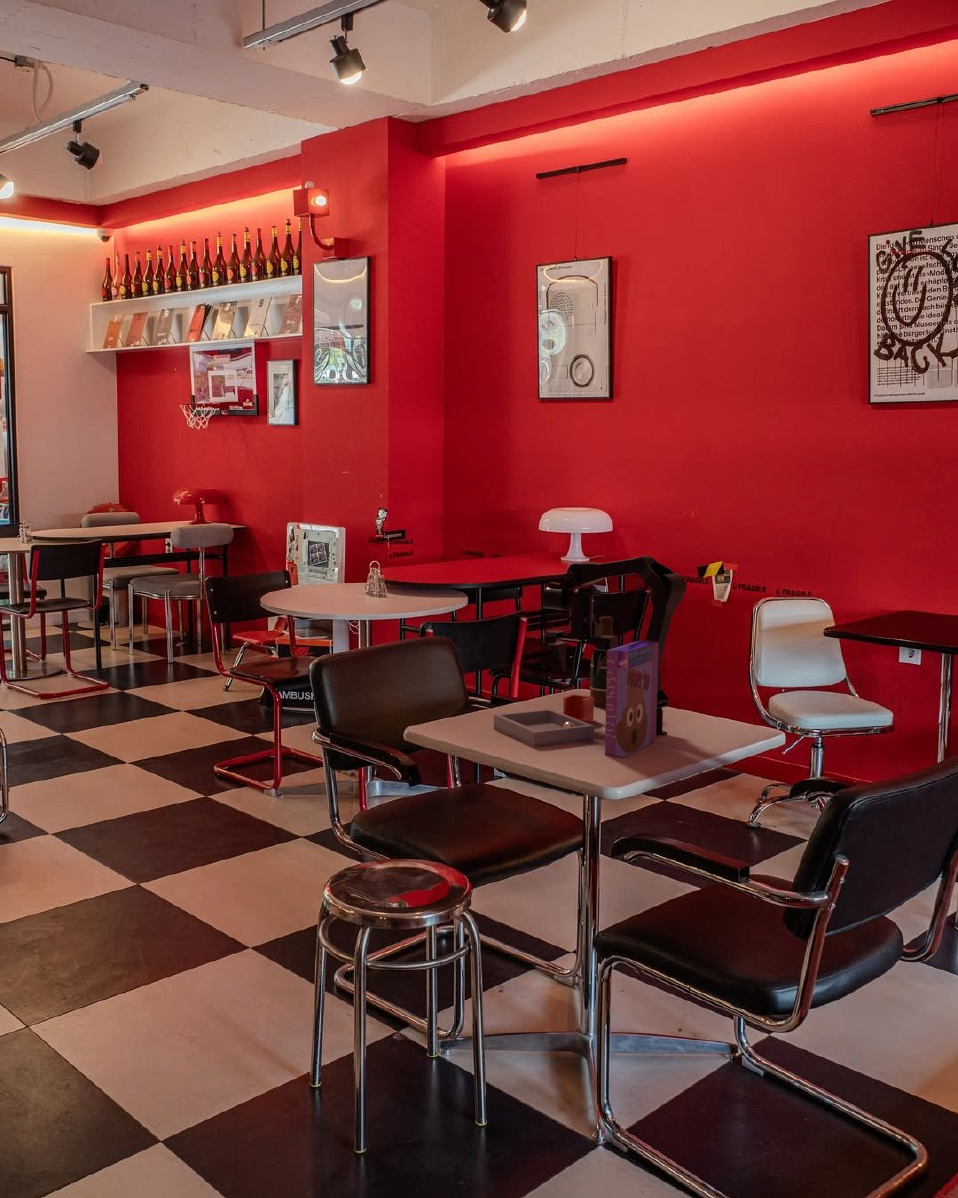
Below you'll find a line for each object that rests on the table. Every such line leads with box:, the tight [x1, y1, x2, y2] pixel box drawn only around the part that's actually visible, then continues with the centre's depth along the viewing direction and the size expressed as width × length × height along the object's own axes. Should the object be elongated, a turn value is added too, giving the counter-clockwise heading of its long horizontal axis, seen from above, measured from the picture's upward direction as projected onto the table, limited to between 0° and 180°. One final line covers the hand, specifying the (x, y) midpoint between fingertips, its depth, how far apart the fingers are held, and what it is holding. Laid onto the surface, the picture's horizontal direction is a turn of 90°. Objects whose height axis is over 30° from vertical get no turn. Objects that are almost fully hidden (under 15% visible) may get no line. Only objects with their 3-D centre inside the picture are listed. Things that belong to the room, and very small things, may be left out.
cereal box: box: [604, 639, 659, 759], centre depth 256 cm, size 17×5×24 cm, turn 148°
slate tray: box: [493, 708, 595, 748], centre depth 270 cm, size 20×16×4 cm
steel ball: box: [563, 722, 575, 728], centre depth 267 cm, size 3×3×3 cm
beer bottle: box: [589, 615, 614, 709], centre depth 303 cm, size 8×8×24 cm
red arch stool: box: [562, 693, 595, 724], centre depth 285 cm, size 6×5×6 cm
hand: (579, 673), depth 284 cm, fingers open, 9 cm apart
